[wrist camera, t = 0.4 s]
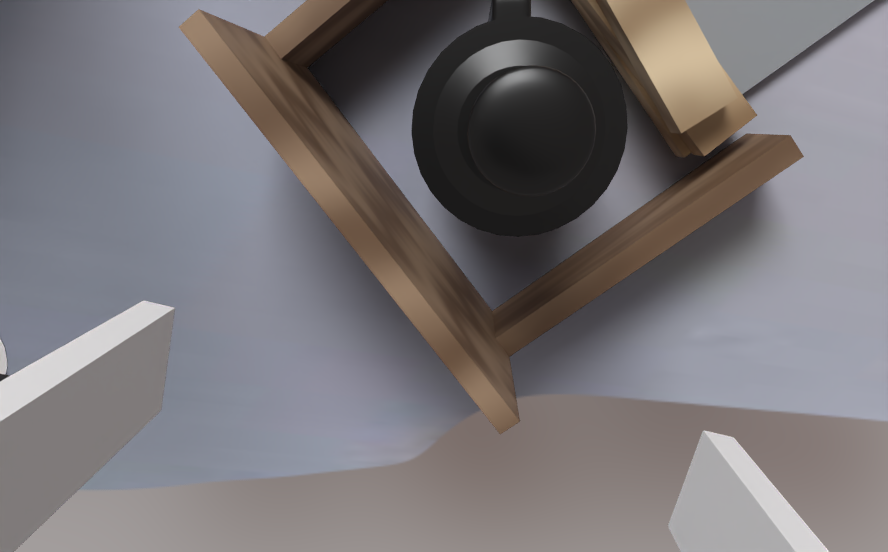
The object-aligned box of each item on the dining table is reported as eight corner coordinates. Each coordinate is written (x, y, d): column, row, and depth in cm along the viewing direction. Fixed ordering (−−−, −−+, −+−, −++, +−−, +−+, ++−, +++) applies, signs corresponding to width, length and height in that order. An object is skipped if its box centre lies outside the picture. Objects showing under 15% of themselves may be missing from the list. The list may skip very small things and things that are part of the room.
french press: (568, 206, 44) (670, 292, 22) (432, 208, 44) (393, 294, 22) (573, 25, 41) (695, -93, 19) (428, 28, 42) (378, -81, 19)
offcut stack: (514, -71, 40) (522, -105, 34) (576, -122, 39) (595, -165, 34) (672, 161, 43) (703, 167, 37) (732, 118, 42) (774, 117, 37)
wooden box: (279, 60, 42) (178, 27, 28) (552, -170, 39) (601, -348, 24) (490, 336, 46) (500, 434, 32) (758, 152, 42) (907, 166, 28)
